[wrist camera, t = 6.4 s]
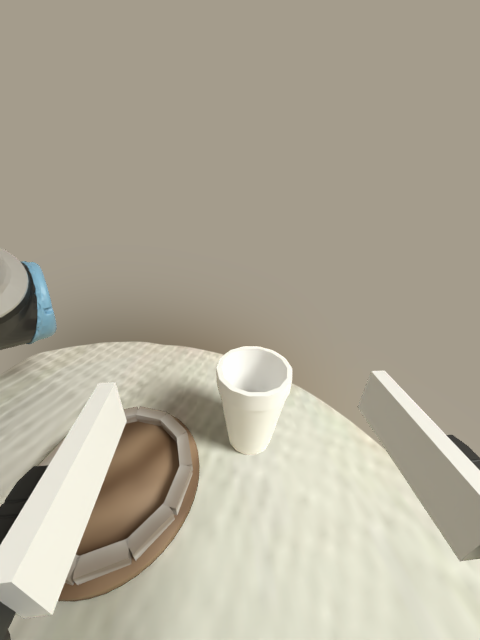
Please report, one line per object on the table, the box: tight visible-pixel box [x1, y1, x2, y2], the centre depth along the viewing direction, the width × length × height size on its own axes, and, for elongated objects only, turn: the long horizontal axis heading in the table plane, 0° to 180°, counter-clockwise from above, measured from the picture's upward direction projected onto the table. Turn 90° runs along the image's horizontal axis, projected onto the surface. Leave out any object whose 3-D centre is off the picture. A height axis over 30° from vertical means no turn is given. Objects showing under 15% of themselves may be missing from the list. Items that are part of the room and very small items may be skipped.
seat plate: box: [38, 406, 199, 601], centre depth 29 cm, size 20×20×2 cm
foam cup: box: [216, 346, 292, 455], centre depth 32 cm, size 10×9×13 cm
